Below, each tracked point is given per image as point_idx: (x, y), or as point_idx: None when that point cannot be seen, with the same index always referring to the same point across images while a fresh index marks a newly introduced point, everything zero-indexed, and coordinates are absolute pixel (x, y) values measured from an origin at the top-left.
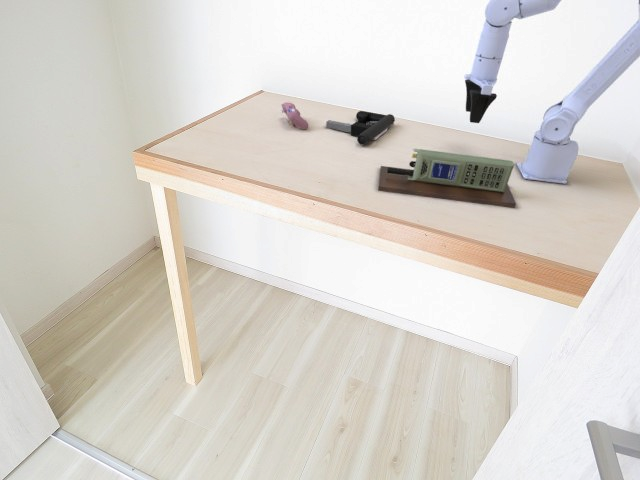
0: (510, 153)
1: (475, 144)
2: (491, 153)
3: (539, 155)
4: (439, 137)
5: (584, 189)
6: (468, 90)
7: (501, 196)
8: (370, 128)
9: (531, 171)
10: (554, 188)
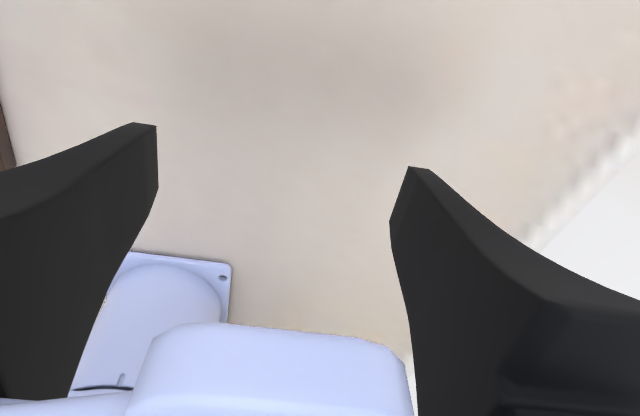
0: (338, 275)
1: None
2: (331, 211)
3: (87, 342)
4: (545, 4)
5: None
6: (477, 270)
7: None
8: None
9: (118, 283)
10: None
